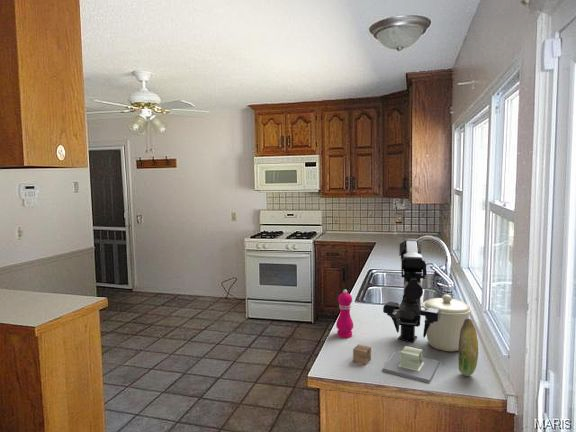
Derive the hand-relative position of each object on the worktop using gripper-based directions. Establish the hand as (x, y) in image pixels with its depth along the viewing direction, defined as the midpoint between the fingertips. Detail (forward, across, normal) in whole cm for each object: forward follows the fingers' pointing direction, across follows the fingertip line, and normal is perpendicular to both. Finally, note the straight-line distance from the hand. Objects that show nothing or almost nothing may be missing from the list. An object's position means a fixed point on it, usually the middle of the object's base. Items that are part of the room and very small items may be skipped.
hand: (410, 334), depth 144 cm
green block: (+11, 0, 0) cm, 11 cm away
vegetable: (+12, +18, +3) cm, 22 cm away
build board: (+12, 0, 0) cm, 12 cm away
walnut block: (+12, -17, -4) cm, 21 cm away
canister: (+12, +8, +25) cm, 29 cm away
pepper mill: (+12, -32, +15) cm, 37 cm away
